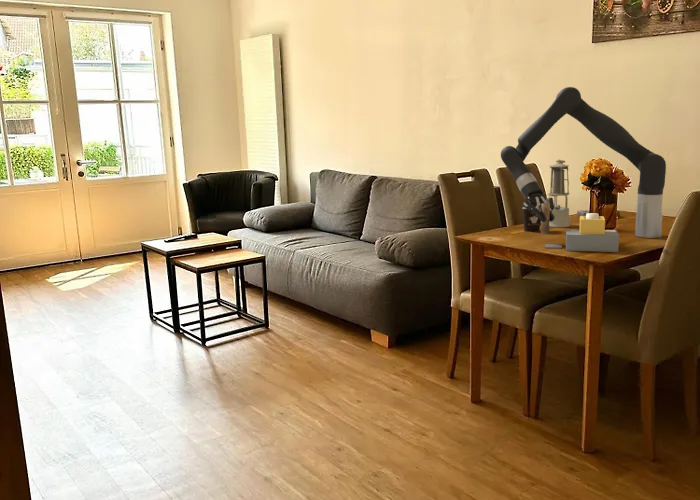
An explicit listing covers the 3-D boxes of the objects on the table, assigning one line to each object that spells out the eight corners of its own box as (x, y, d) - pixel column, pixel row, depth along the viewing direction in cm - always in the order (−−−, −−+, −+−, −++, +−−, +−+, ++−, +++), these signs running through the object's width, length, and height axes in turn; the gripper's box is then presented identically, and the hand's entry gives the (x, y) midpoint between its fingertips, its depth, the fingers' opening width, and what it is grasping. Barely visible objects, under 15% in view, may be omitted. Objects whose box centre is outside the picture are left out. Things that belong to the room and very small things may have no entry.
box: (620, 217, 306) (620, 210, 306) (583, 219, 307) (583, 212, 307) (611, 214, 317) (612, 208, 316) (576, 216, 318) (576, 210, 317)
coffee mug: (519, 231, 279) (520, 208, 277) (524, 228, 286) (524, 206, 284) (547, 233, 273) (547, 209, 271) (550, 229, 281) (551, 207, 279)
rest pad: (561, 245, 246) (561, 244, 246) (561, 248, 241) (561, 247, 241) (545, 245, 248) (545, 244, 248) (545, 248, 242) (545, 247, 242)
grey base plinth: (615, 245, 243) (616, 215, 241) (618, 251, 232) (619, 220, 229) (565, 244, 248) (566, 215, 246) (566, 250, 237) (567, 219, 235)
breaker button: (597, 232, 240) (598, 213, 239) (598, 234, 236) (599, 214, 235) (585, 232, 242) (585, 212, 240) (585, 234, 237) (586, 214, 236)
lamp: (543, 226, 289) (544, 160, 284) (552, 222, 300) (554, 158, 294) (566, 228, 284) (568, 160, 278) (574, 223, 294) (577, 158, 288)
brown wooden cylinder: (549, 233, 252) (549, 202, 249) (549, 234, 249) (549, 203, 246) (540, 232, 253) (541, 202, 250) (540, 234, 250) (541, 203, 247)
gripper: (518, 182, 251) (538, 216, 242) (547, 179, 256) (568, 212, 247) (510, 194, 257) (529, 228, 248) (538, 191, 262) (558, 224, 253)
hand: (548, 220), depth 248 cm, fingers closed on brown wooden cylinder, 3 cm apart
